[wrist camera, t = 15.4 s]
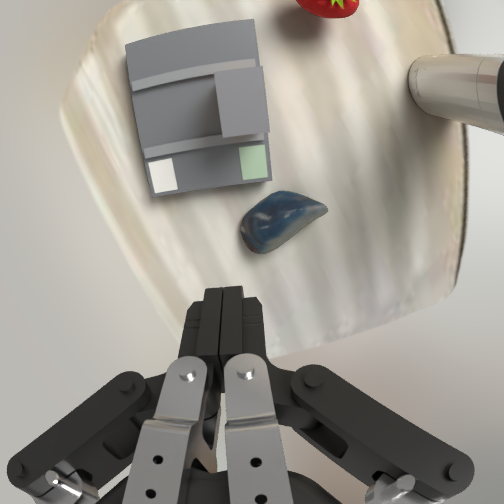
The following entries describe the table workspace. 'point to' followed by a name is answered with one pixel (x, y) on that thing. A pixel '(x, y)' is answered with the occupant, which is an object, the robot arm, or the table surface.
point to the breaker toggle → (242, 101)
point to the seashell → (278, 220)
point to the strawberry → (330, 7)
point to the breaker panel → (193, 108)
